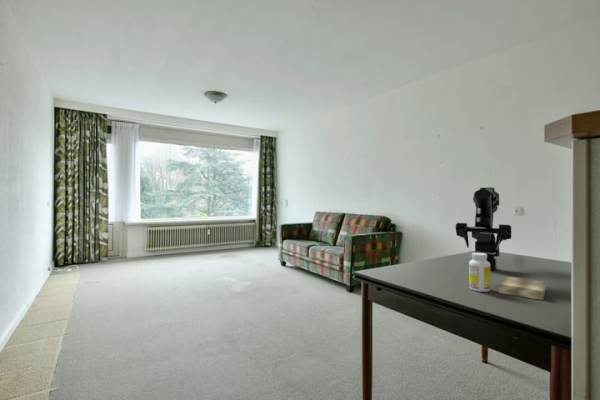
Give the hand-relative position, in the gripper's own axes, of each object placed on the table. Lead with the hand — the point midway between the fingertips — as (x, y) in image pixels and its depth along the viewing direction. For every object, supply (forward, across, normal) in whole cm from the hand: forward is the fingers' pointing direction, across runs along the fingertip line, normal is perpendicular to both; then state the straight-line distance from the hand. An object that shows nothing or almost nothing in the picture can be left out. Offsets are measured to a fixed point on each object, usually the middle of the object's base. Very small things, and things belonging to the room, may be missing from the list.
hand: (481, 248), depth 119 cm
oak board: (+12, -13, -7) cm, 19 cm away
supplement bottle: (+15, 0, -4) cm, 16 cm away
